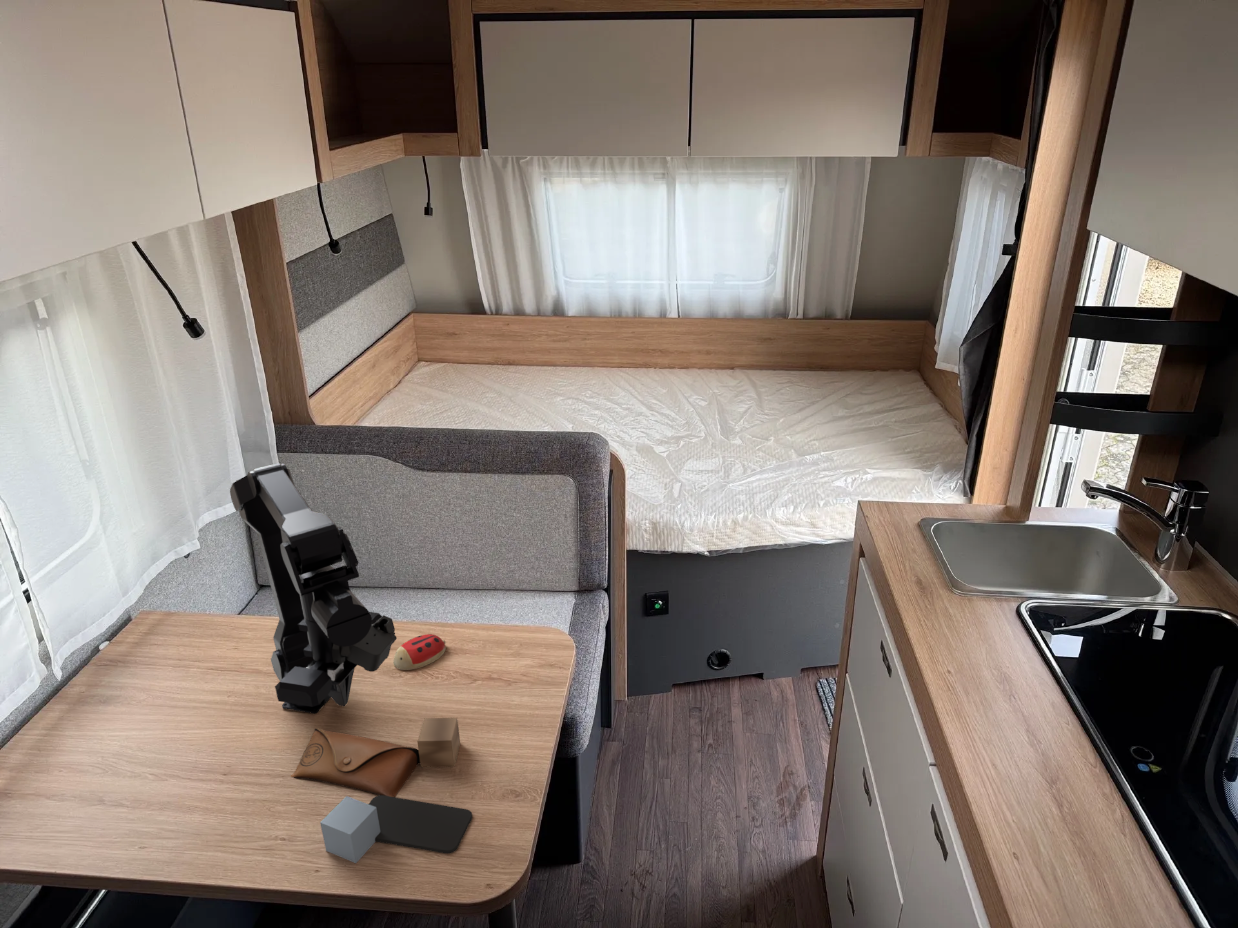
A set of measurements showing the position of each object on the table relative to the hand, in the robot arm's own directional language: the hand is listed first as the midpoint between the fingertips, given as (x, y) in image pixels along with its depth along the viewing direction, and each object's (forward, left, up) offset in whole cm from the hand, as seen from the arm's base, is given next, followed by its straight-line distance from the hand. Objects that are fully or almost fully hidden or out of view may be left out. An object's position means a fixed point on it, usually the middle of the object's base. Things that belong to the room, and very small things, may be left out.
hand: (343, 704), depth 121 cm
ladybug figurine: (-4, +28, -12) cm, 31 cm away
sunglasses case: (0, 0, -13) cm, 13 cm away
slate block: (+7, -12, -12) cm, 18 cm away
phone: (+13, -7, -12) cm, 20 cm away
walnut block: (+11, +6, -12) cm, 17 cm away
